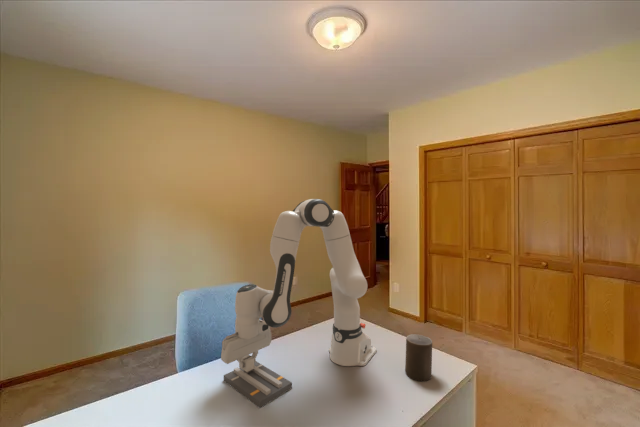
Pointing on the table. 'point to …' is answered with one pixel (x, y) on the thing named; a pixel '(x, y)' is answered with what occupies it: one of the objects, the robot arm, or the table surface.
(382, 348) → the table surface
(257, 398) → the slider console
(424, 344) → the pillar candle
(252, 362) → the fader knob
